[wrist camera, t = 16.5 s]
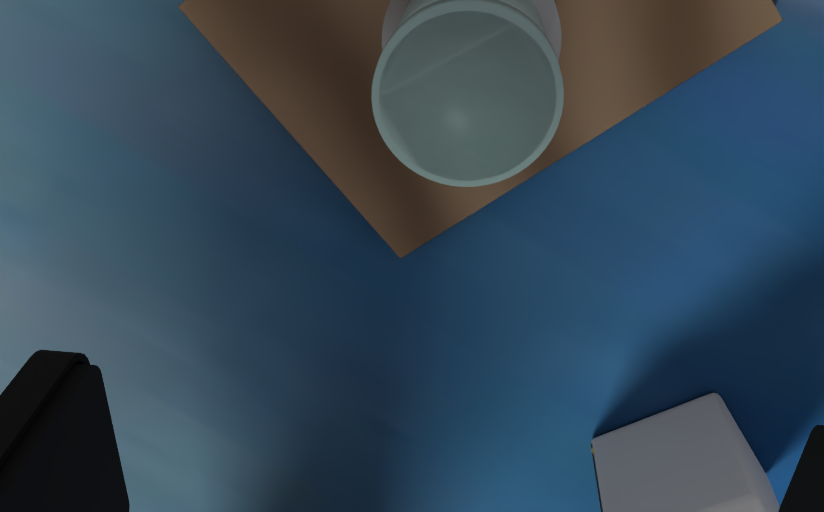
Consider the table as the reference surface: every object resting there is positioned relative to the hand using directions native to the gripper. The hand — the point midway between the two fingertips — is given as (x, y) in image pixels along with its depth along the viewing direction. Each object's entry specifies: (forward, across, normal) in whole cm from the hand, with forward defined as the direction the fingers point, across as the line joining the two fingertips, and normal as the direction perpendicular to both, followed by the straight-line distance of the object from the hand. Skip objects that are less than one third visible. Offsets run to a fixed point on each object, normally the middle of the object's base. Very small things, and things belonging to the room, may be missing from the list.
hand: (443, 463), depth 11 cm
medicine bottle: (+24, -13, +23) cm, 36 cm away
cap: (+19, 0, 0) cm, 19 cm away
